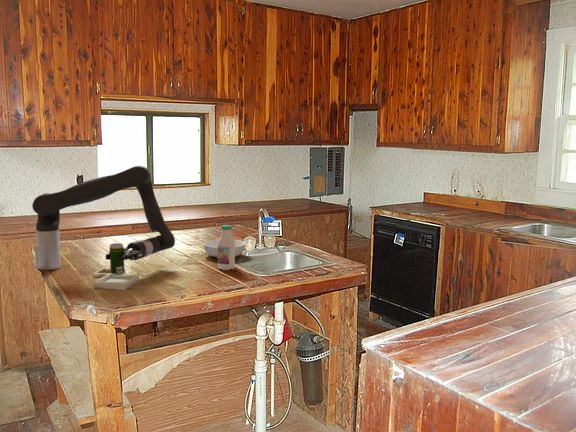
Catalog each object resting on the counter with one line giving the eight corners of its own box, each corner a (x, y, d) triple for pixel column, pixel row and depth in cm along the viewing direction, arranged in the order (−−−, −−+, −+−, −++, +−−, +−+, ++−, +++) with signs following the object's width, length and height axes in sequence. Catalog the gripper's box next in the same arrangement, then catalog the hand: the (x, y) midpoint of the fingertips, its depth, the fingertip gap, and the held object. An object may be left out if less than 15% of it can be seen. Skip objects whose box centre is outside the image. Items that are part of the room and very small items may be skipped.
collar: (92, 277, 231) (92, 273, 231) (103, 271, 241) (103, 267, 240) (114, 278, 229) (114, 275, 229) (125, 272, 239) (125, 269, 239)
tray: (94, 287, 215) (94, 281, 215) (109, 279, 228) (109, 273, 228) (125, 290, 213) (125, 283, 213) (139, 281, 226) (139, 275, 226)
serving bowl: (195, 256, 273) (195, 242, 271) (227, 250, 288) (227, 237, 287) (222, 263, 259) (222, 249, 257) (254, 256, 274) (254, 243, 273)
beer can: (127, 273, 220) (125, 244, 218) (114, 276, 216) (113, 246, 214) (120, 271, 224) (118, 242, 222) (108, 273, 220) (106, 244, 218)
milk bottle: (227, 265, 255) (227, 223, 252) (238, 268, 250) (238, 225, 246) (214, 268, 250) (214, 225, 247) (224, 271, 244) (224, 227, 241)
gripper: (126, 239, 234) (97, 247, 219) (153, 242, 228) (126, 250, 213) (126, 256, 235) (98, 265, 220) (154, 259, 230) (127, 269, 214)
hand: (112, 258), depth 217 cm, fingers closed on beer can, 5 cm apart
